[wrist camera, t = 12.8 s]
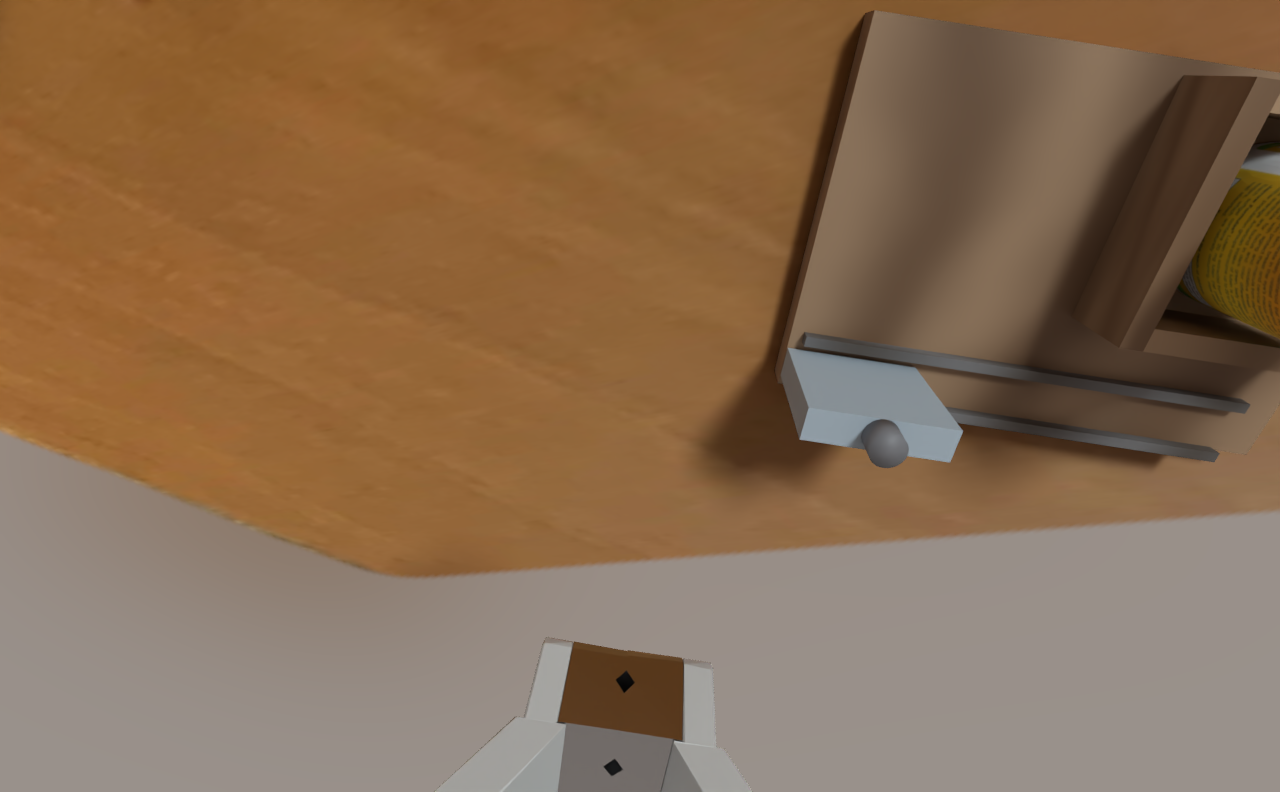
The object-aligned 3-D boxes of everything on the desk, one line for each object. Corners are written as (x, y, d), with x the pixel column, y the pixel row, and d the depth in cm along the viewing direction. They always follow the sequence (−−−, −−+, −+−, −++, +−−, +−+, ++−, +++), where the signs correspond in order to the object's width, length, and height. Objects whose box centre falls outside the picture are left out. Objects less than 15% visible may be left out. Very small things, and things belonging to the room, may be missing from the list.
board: (772, 377, 27) (786, 426, 24) (865, 12, 21) (902, 1, 18) (1220, 445, 27) (1304, 505, 24) (1438, 101, 21) (1597, 109, 18)
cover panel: (780, 375, 26) (804, 455, 21) (787, 347, 25) (814, 422, 20) (905, 394, 26) (961, 479, 21) (915, 367, 25) (975, 447, 20)
